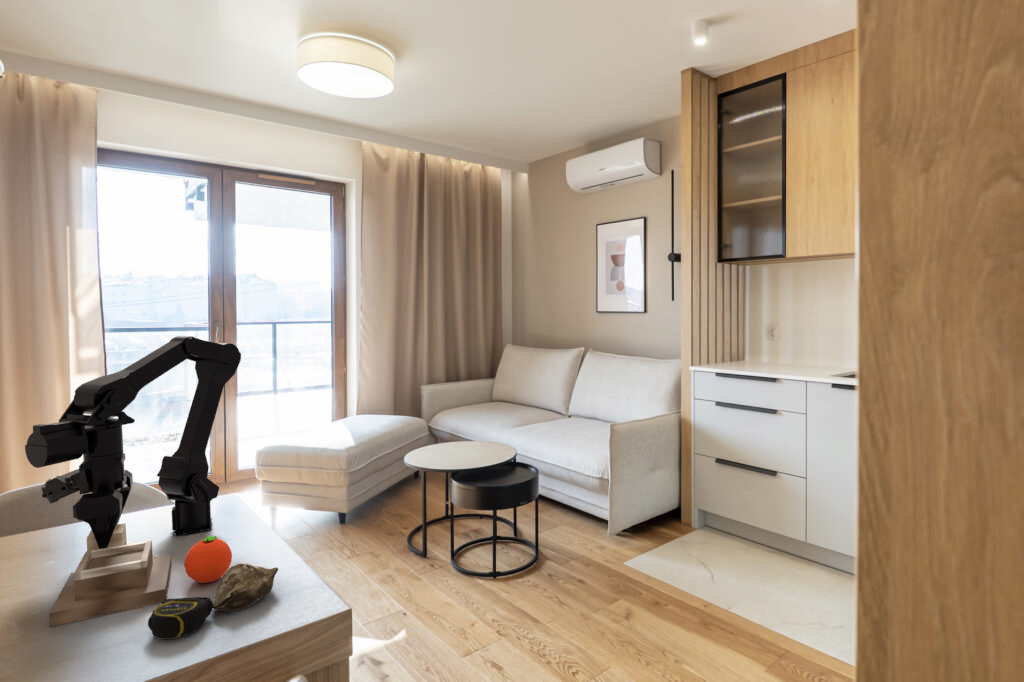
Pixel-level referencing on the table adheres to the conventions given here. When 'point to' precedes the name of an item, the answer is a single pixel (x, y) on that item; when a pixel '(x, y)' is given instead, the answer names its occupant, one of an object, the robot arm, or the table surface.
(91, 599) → the tower base
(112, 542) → the maple block
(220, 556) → the clementine
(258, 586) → the fossilized seashell
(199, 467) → the robot arm
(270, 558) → the table surface
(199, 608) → the tape measure
